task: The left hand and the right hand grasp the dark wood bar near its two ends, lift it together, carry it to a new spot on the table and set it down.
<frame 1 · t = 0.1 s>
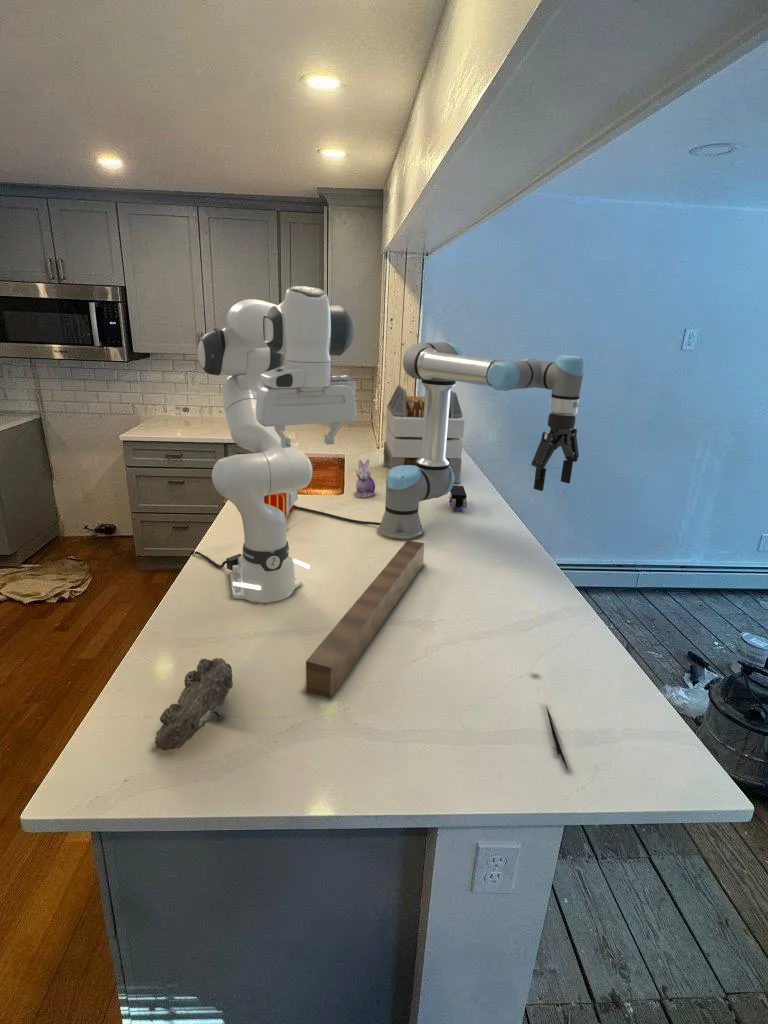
left hand: (307, 445, 115), 48 cm above the counter, tool pointing down, fingers open, 8 cm apart
right hand: (551, 486, 166), 28 cm above the counter, tool pointing down, fingers open, 13 cm apart
bar: (376, 615, 146), on the counter
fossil: (201, 715, 108), on the counter
toy: (278, 516, 211), on the counter
figurine: (365, 495, 240), on the counter
white storage bin: (419, 473, 275), on the counter
figurine character: (456, 507, 229), on the counter
feather: (548, 718, 112), on the counter
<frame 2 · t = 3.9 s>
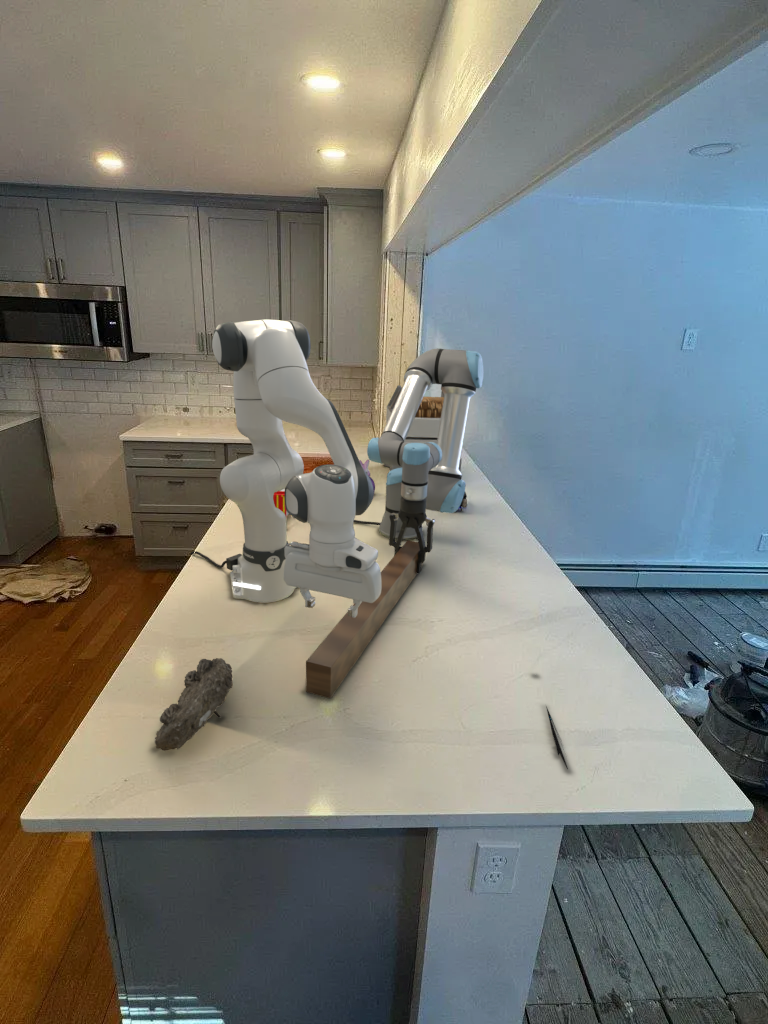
left hand: (331, 611, 115), 16 cm above the counter, tool pointing down, fingers open, 8 cm apart
right hand: (409, 569, 172), 1 cm above the counter, tool pointing down, fingers closed on bar, 5 cm apart
bar: (376, 615, 146), on the counter, touching right hand
everything else where it was.
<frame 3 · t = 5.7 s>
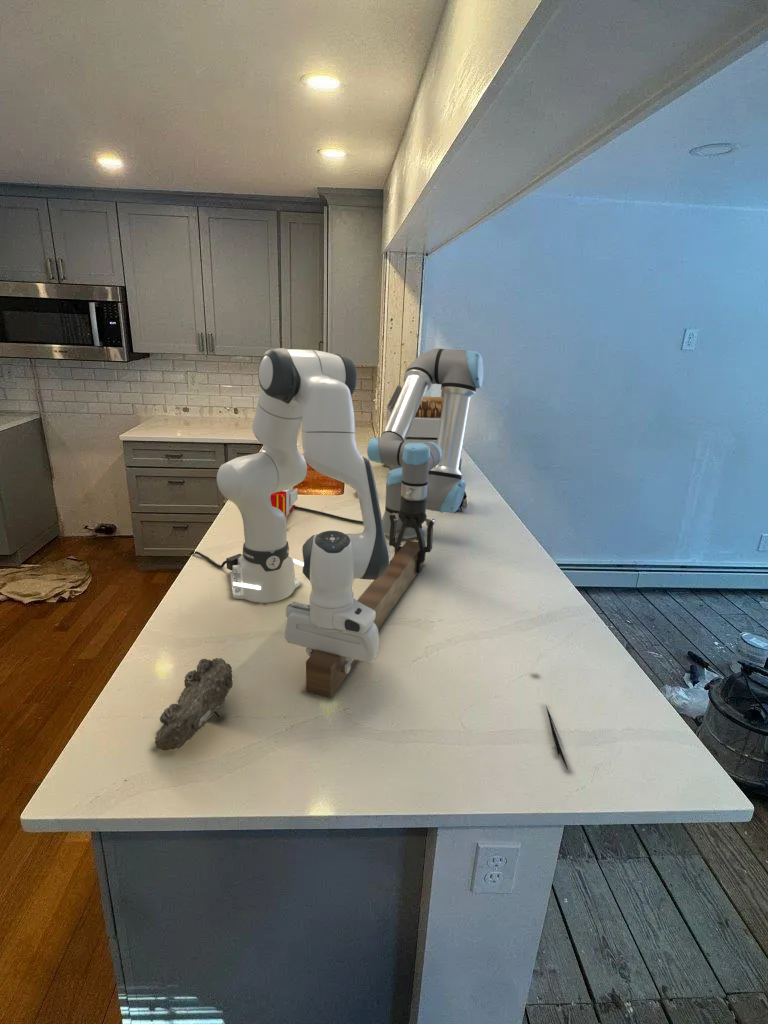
left hand: (330, 667, 120), 3 cm above the counter, tool pointing down, fingers closed on bar, 5 cm apart
right hand: (409, 569, 172), 1 cm above the counter, tool pointing down, fingers closed on bar, 5 cm apart
bar: (376, 615, 146), on the counter, touching right hand, left hand
everything else where it was.
when the right hand's fingers open (1 cm above the counter, at t = 11.3 s): bar stays where it is, held by the left hand.
when the left hand's fingers open (3 cm above the counter, at t = 11.6 s): bar stays where it is, on the counter.
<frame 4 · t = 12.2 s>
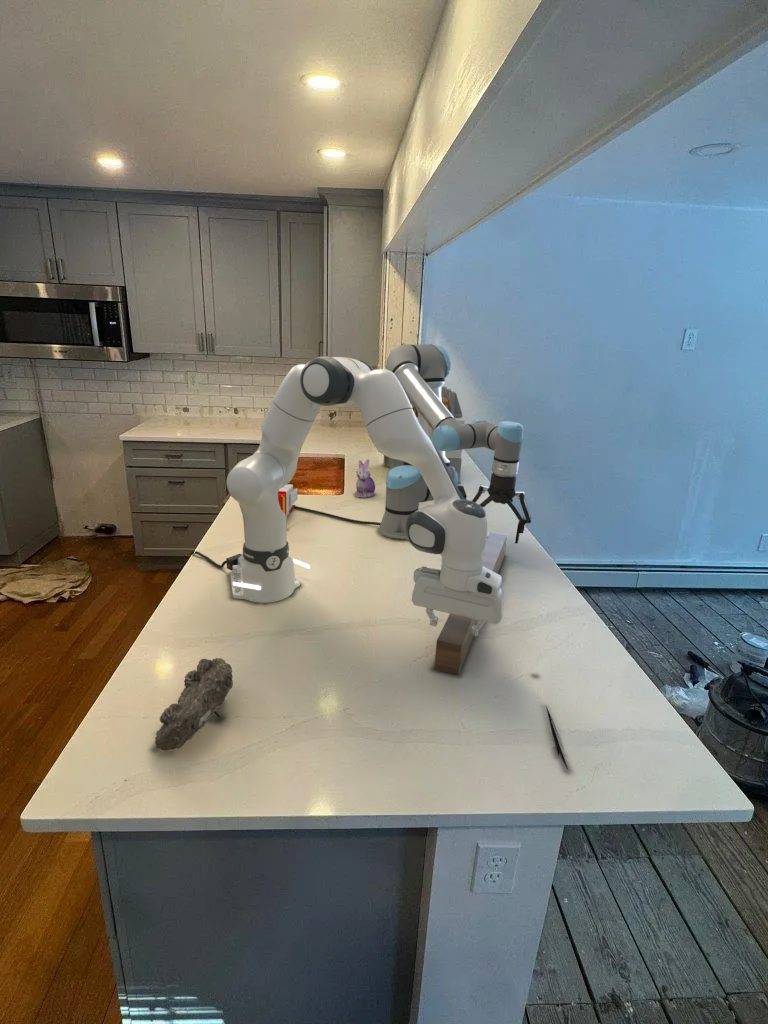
left hand: (453, 629, 127), 7 cm above the counter, tool pointing down, fingers open, 8 cm apart
right hand: (494, 537, 179), 8 cm above the counter, tool pointing down, fingers open, 13 cm apart
bar: (476, 601, 156), on the counter
everything else where it was.
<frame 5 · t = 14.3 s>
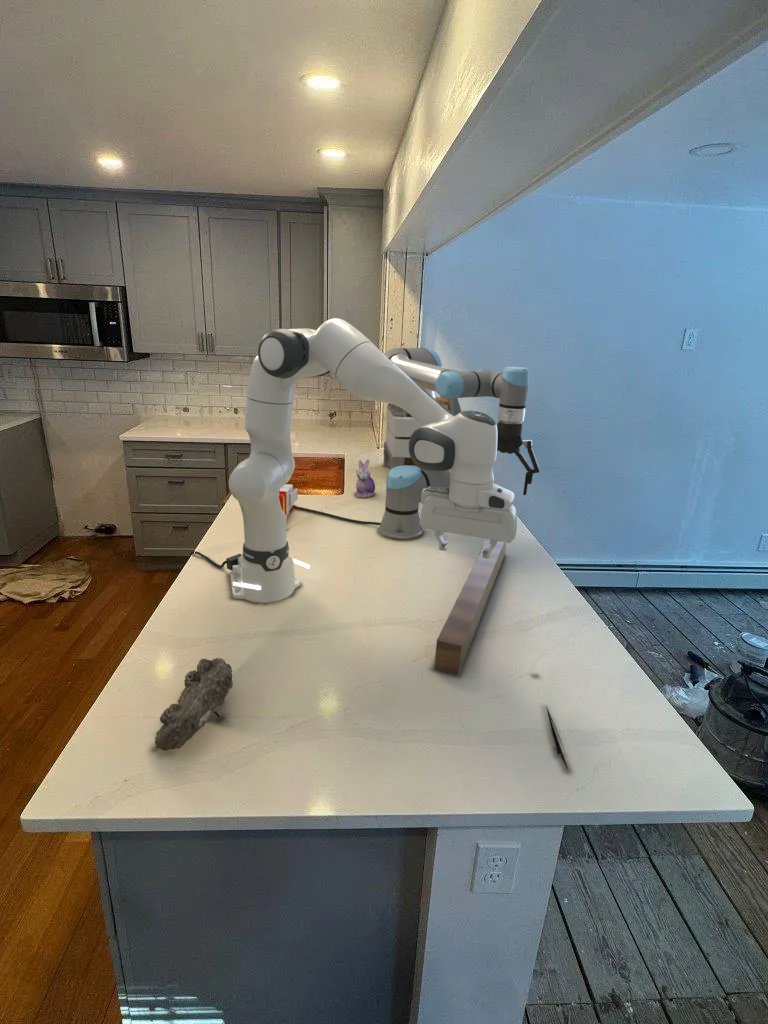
left hand: (464, 553, 121), 26 cm above the counter, tool pointing down, fingers open, 8 cm apart
right hand: (502, 490, 173), 24 cm above the counter, tool pointing down, fingers open, 13 cm apart
nothing on the counter moved.
at the end: bar inside the target area (0.3 cm from its centre), on the counter; bar tilted 0°; bar never tilted more than 1° during the clip; both hands held the bar at the same time; the left hand is holding nothing; the right hand is holding nothing; bar at rest at the end (0.0 cm/s) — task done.
